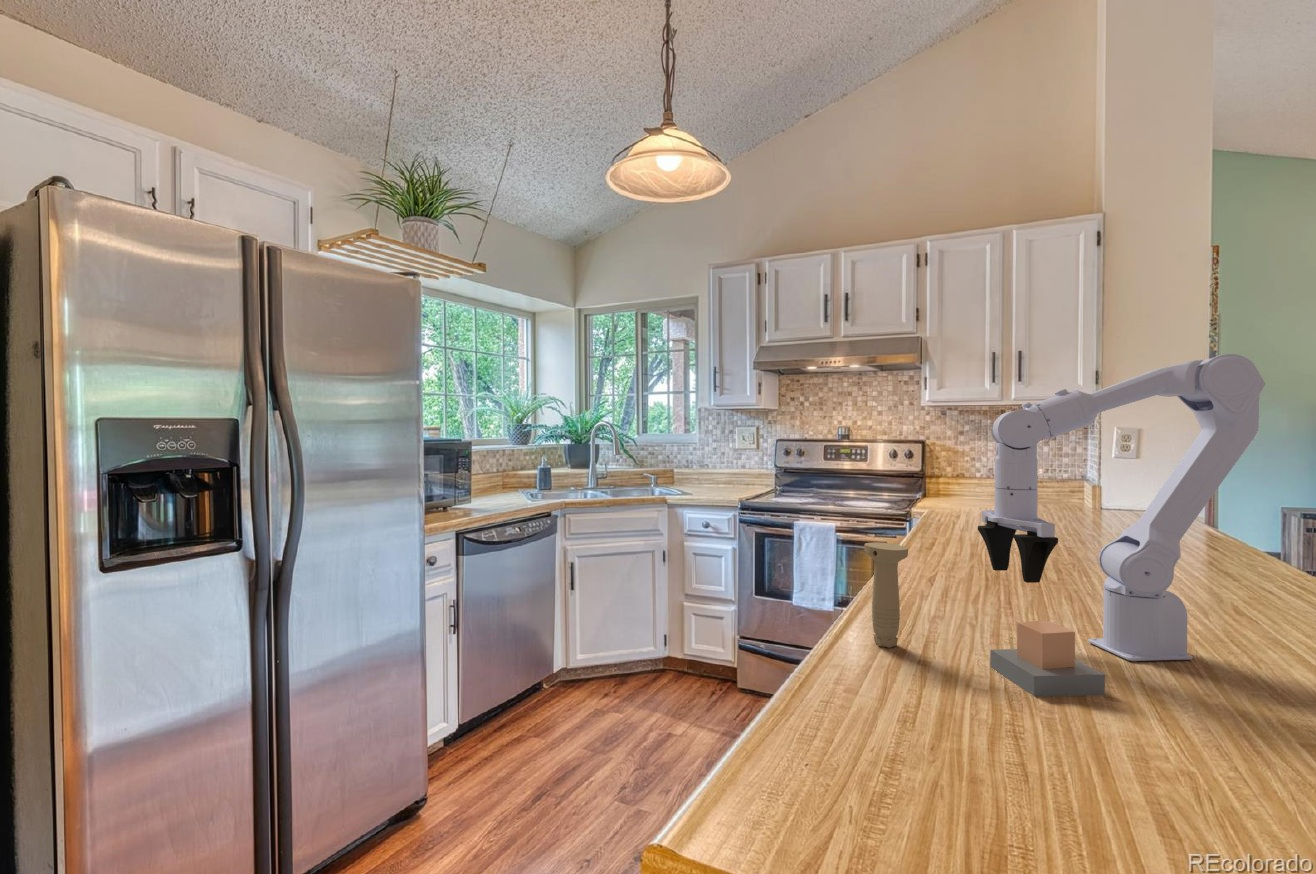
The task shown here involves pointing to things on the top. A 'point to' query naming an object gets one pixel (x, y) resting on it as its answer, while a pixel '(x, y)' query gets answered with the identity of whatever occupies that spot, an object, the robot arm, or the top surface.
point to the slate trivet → (1047, 676)
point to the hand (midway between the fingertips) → (1015, 575)
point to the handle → (885, 591)
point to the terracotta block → (1046, 644)
